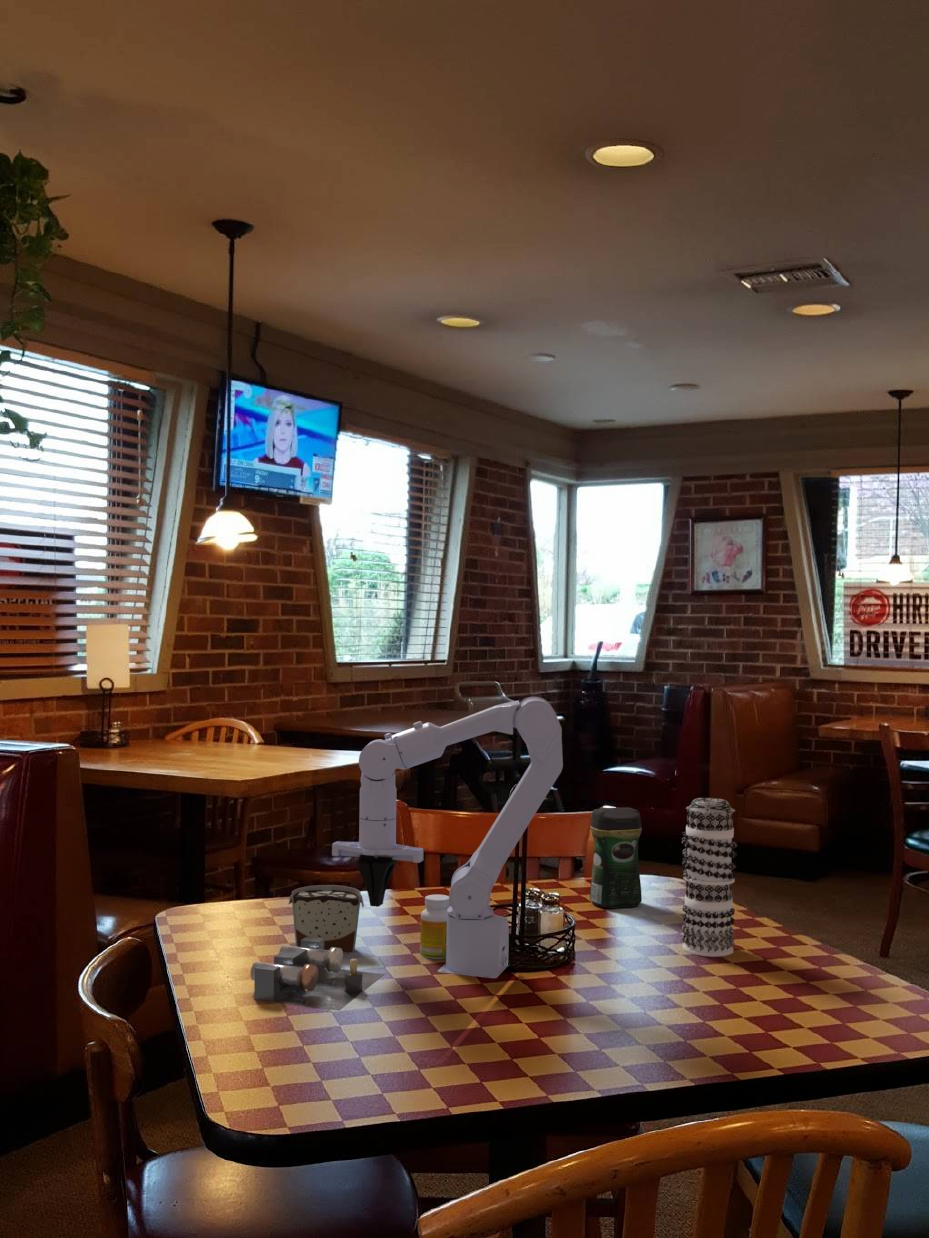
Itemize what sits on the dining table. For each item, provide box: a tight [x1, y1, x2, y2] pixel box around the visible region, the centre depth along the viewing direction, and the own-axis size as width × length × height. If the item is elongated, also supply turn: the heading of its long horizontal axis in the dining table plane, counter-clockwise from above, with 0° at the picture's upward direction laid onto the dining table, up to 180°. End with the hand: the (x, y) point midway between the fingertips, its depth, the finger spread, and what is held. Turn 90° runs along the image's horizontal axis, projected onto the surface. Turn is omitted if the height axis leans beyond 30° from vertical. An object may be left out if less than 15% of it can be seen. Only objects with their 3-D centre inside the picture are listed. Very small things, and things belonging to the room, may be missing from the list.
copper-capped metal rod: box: [250, 961, 318, 991], centre depth 167 cm, size 9×4×4 cm, turn 73°
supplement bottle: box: [419, 894, 451, 960], centre depth 188 cm, size 5×5×10 cm
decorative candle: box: [681, 797, 738, 958], centre depth 194 cm, size 9×9×25 cm
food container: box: [288, 884, 365, 953], centre depth 191 cm, size 12×6×10 cm, turn 84°
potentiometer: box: [344, 958, 363, 993], centre depth 169 cm, size 3×3×4 cm
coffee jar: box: [589, 807, 643, 909], centre depth 224 cm, size 10×8×19 cm
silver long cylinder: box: [278, 945, 344, 973], centre depth 176 cm, size 9×4×4 cm, turn 73°
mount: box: [253, 937, 385, 1011], centre depth 170 cm, size 13×17×5 cm
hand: (376, 904), depth 181 cm, fingers closed
